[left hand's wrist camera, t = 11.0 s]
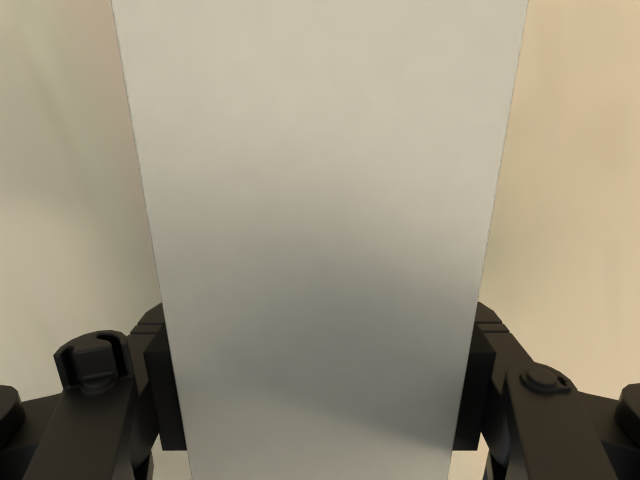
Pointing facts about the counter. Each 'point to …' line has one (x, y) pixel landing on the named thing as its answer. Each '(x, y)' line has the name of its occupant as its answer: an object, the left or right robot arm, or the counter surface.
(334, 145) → the bar
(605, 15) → the counter surface
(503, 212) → the counter surface
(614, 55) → the counter surface
